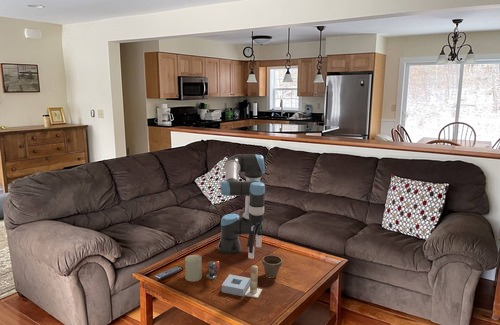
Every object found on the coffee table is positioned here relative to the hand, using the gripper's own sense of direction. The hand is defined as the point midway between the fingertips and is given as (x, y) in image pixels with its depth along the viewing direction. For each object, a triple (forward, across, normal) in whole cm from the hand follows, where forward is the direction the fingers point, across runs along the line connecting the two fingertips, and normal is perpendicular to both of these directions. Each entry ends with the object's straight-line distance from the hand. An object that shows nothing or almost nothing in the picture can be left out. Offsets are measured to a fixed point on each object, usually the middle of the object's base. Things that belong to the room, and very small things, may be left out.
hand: (254, 252), depth 191 cm
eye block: (+23, 0, -10) cm, 25 cm away
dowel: (+22, 0, 0) cm, 22 cm away
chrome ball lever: (+17, -6, -25) cm, 30 cm away
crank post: (+23, -8, -27) cm, 36 cm away
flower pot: (+23, -20, +5) cm, 31 cm away
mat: (+23, 0, 0) cm, 23 cm away
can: (+23, -3, -36) cm, 43 cm away
